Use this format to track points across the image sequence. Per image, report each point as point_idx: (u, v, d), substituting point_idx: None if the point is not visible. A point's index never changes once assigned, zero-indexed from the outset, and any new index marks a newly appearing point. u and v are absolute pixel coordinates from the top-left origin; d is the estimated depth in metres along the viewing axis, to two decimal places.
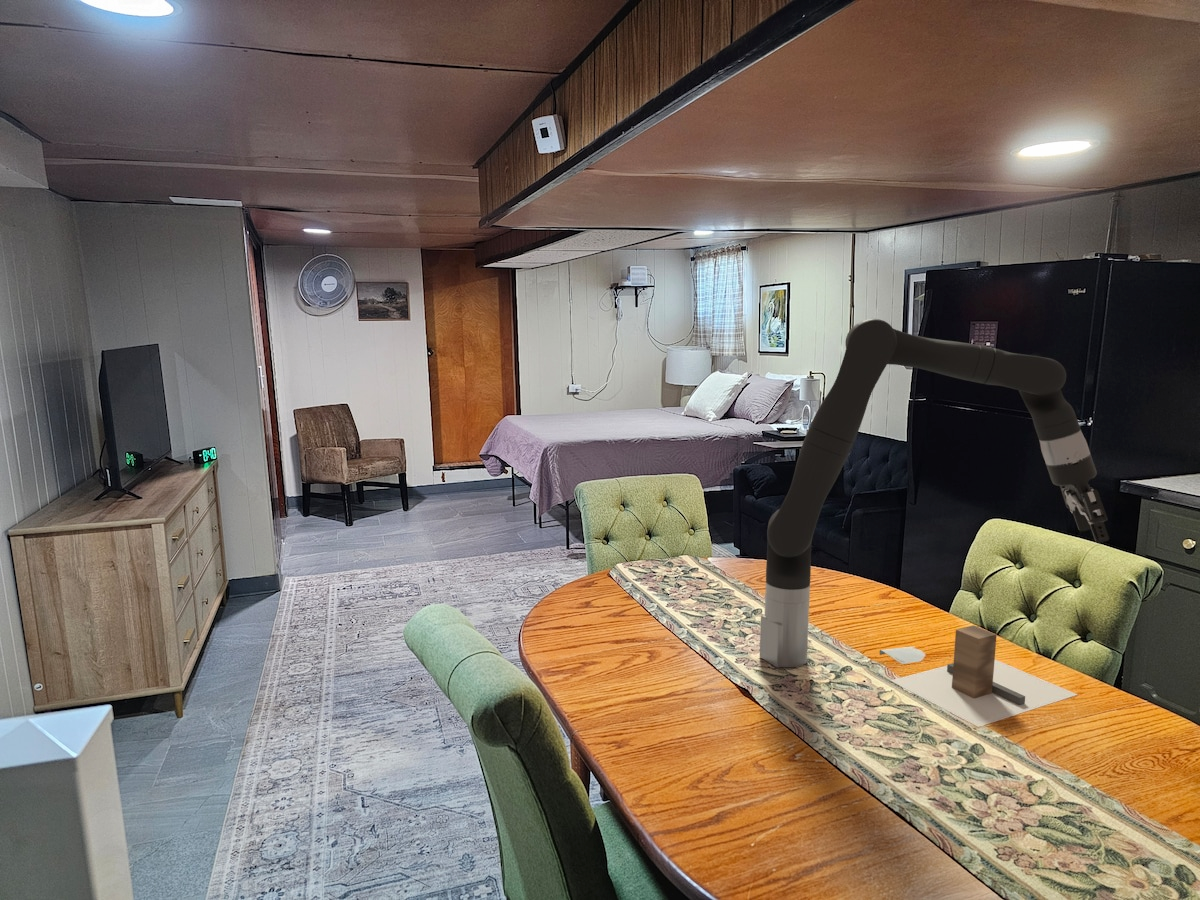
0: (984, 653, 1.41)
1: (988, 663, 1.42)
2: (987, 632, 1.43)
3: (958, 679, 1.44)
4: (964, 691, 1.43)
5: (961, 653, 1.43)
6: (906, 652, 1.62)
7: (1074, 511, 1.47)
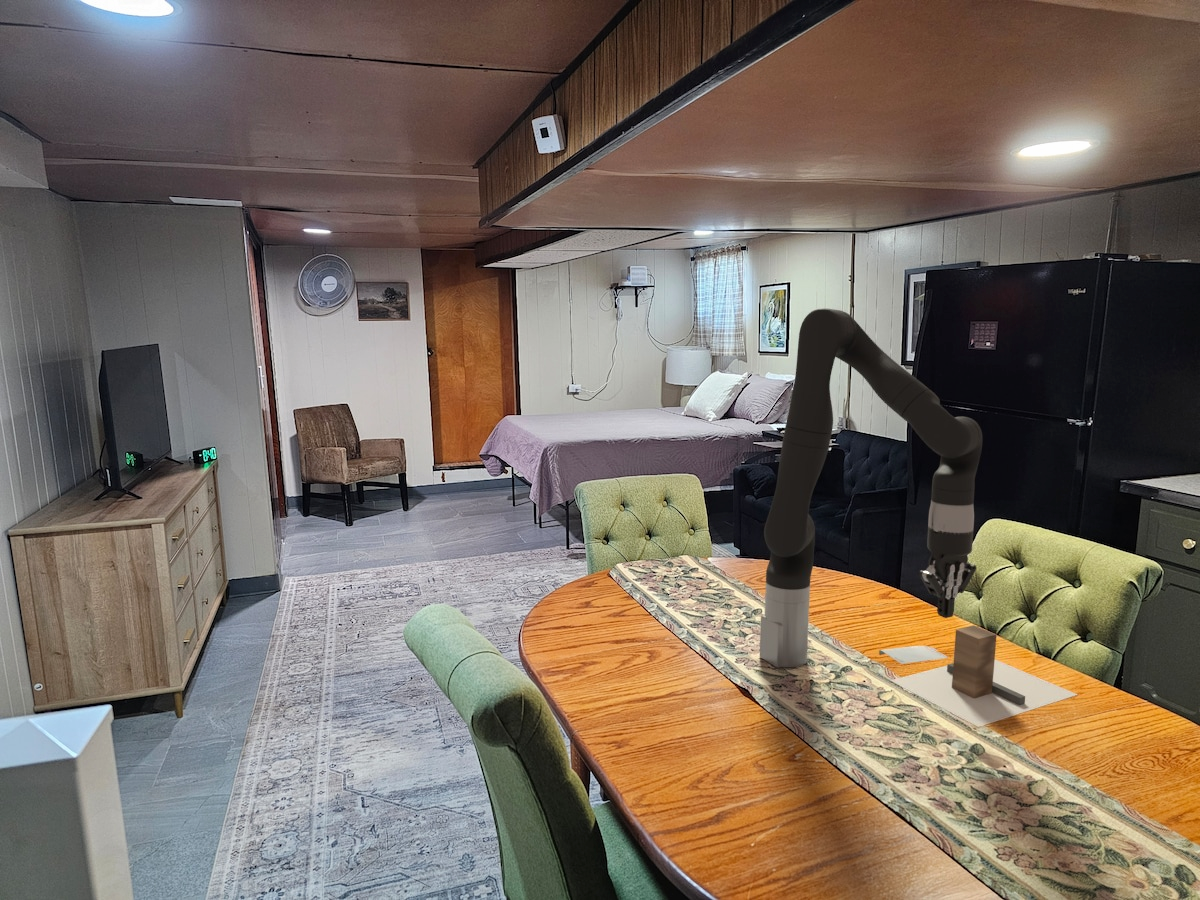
0: (984, 653, 1.41)
1: (988, 663, 1.42)
2: (987, 632, 1.43)
3: (958, 679, 1.44)
4: (964, 691, 1.43)
5: (961, 653, 1.43)
6: (905, 652, 1.62)
7: None
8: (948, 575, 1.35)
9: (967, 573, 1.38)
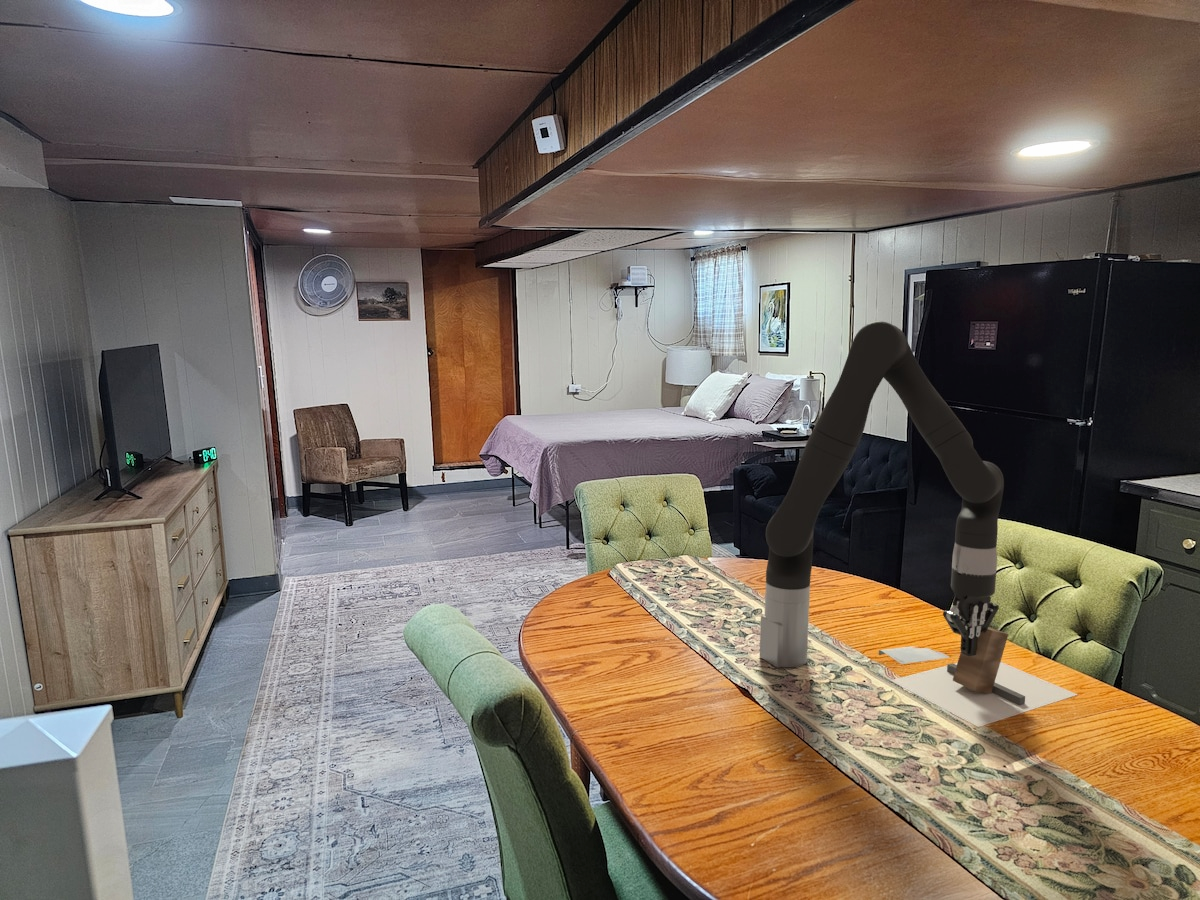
0: (993, 648, 1.42)
1: (995, 660, 1.42)
2: (999, 631, 1.44)
3: (961, 672, 1.44)
4: (965, 684, 1.43)
5: None
6: (905, 652, 1.62)
7: None
8: (971, 615, 1.39)
9: (990, 612, 1.42)
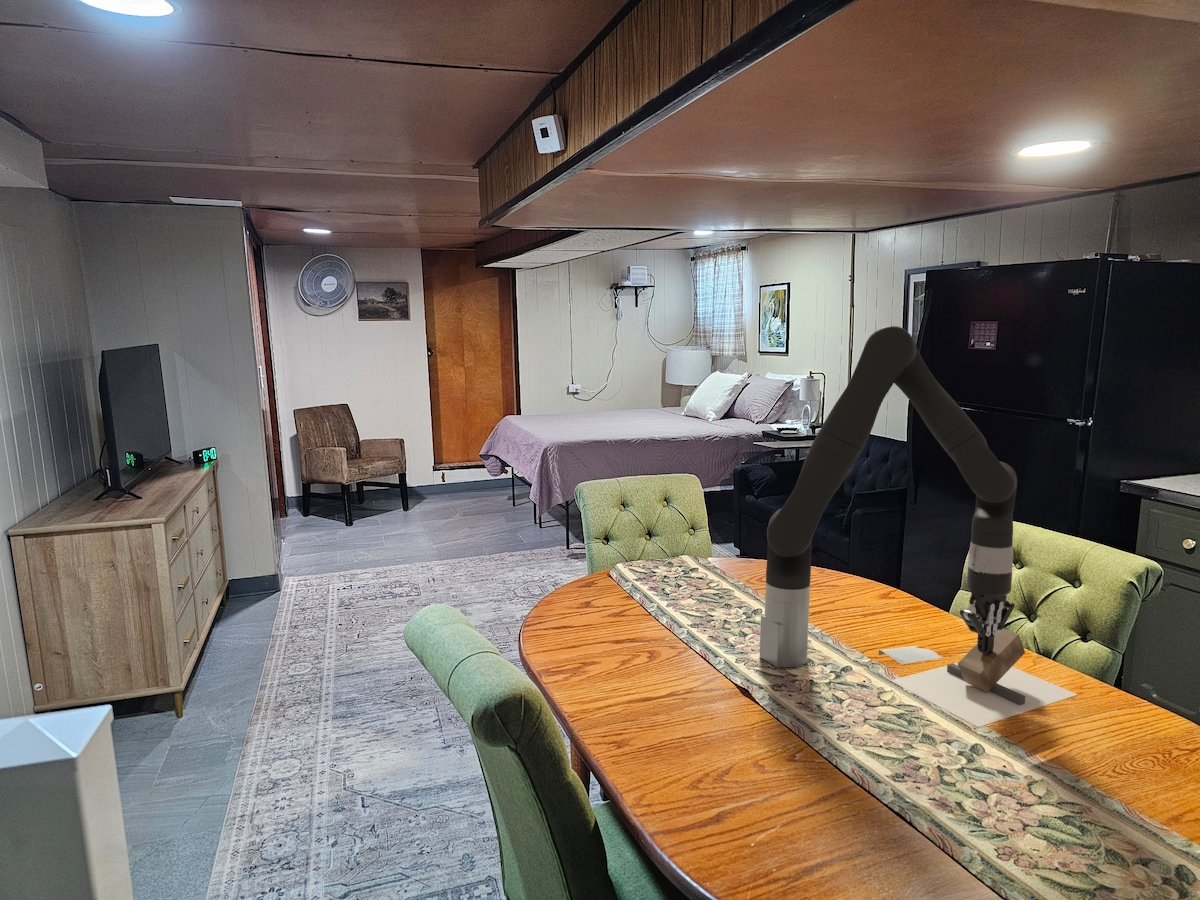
0: (1010, 651, 1.44)
1: (1005, 664, 1.44)
2: None
3: (970, 658, 1.45)
4: (971, 667, 1.43)
5: None
6: (905, 652, 1.62)
7: None
8: (988, 614, 1.41)
9: (1006, 610, 1.44)
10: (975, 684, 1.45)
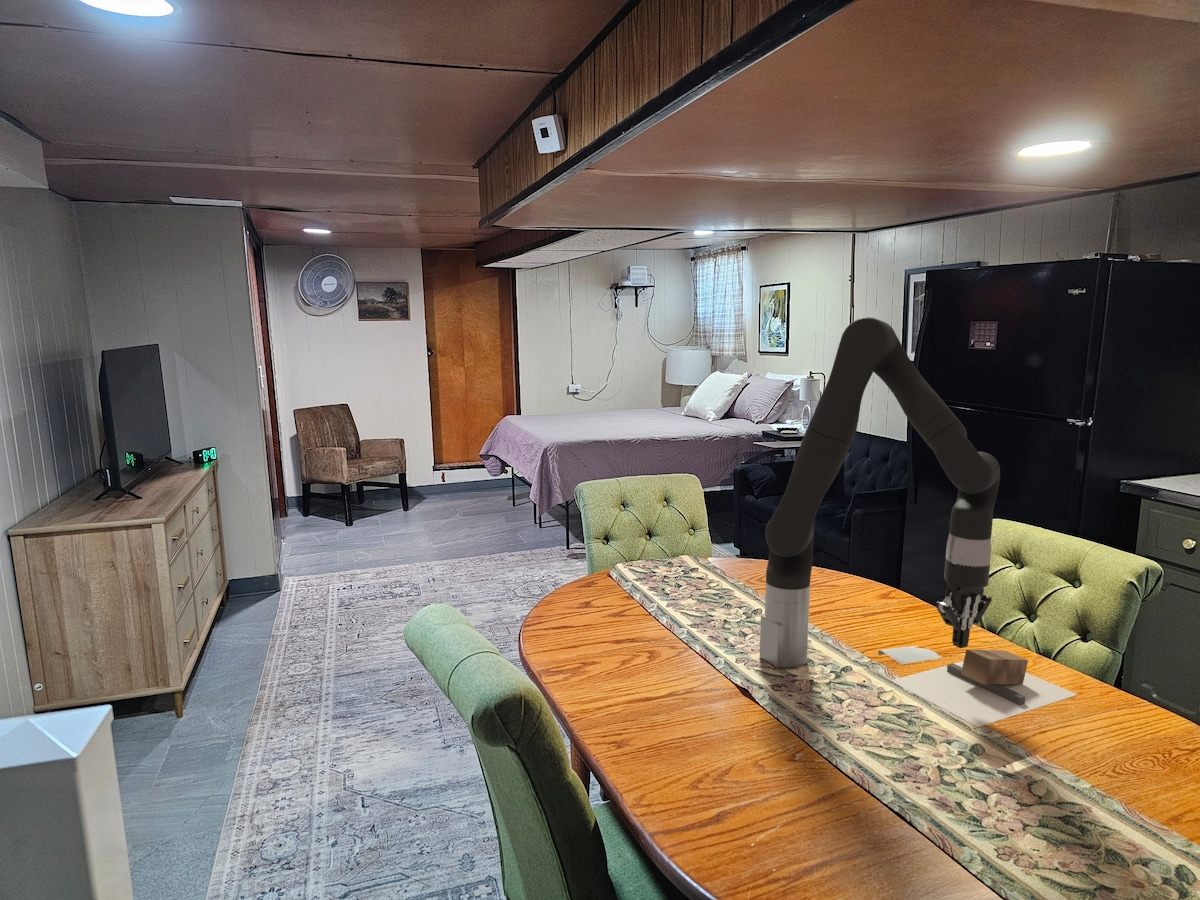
0: (1015, 668, 1.45)
1: (1006, 676, 1.45)
2: None
3: (980, 652, 1.46)
4: (980, 655, 1.44)
5: (998, 653, 1.48)
6: (905, 652, 1.62)
7: None
8: (964, 607, 1.38)
9: (982, 604, 1.41)
10: (973, 675, 1.44)
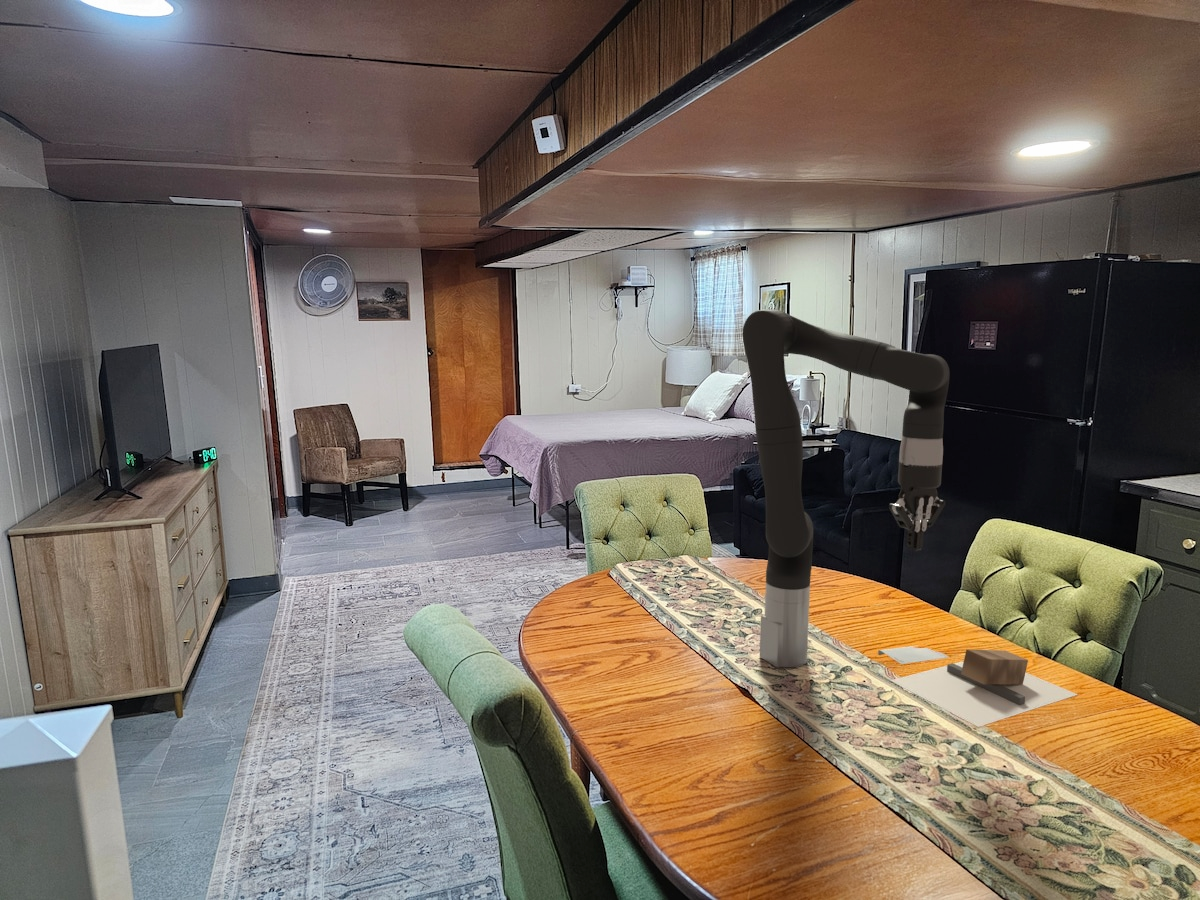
0: (1015, 668, 1.45)
1: (1006, 676, 1.45)
2: None
3: (980, 652, 1.46)
4: (980, 655, 1.44)
5: (998, 653, 1.48)
6: (905, 652, 1.62)
7: None
8: (917, 508, 1.39)
9: (936, 508, 1.42)
10: (973, 675, 1.44)
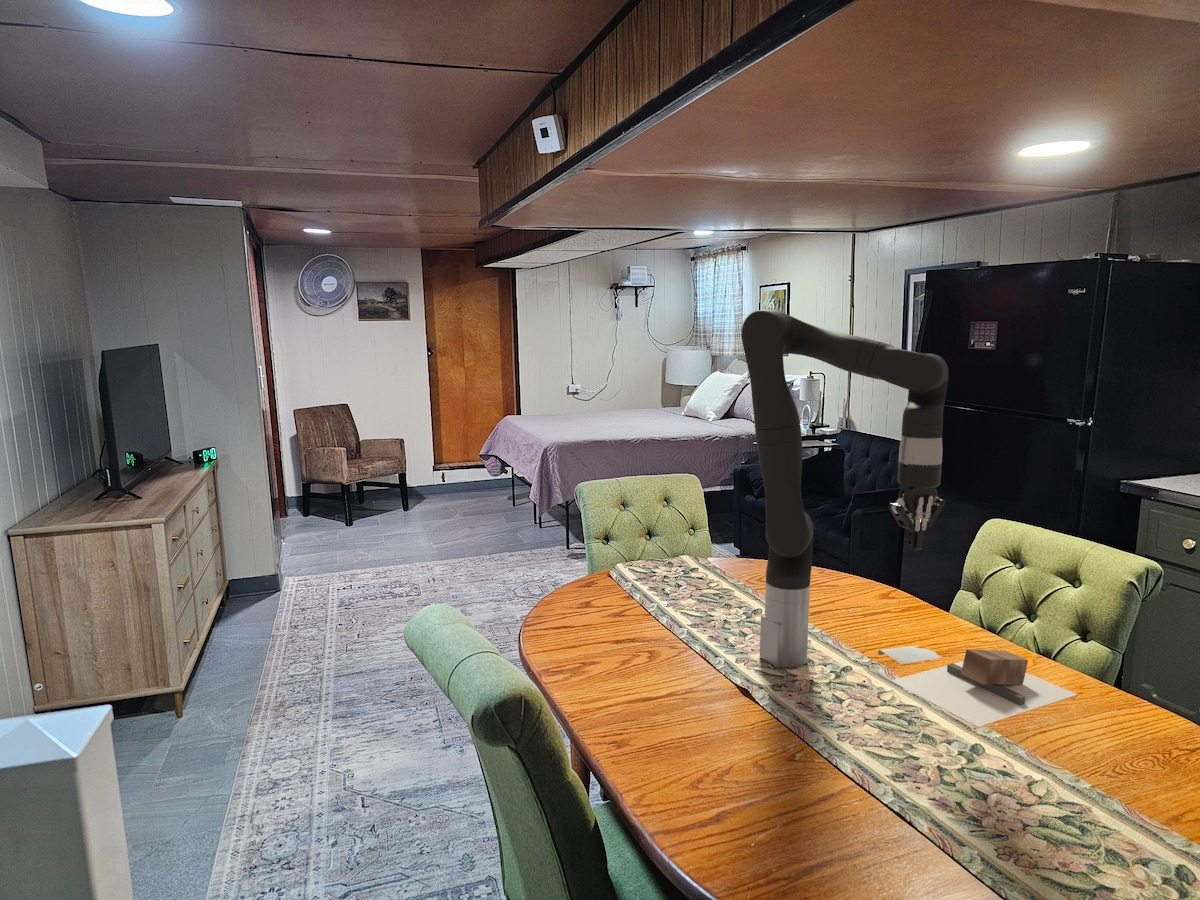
0: (1015, 668, 1.45)
1: (1006, 676, 1.45)
2: None
3: (980, 652, 1.46)
4: (980, 655, 1.44)
5: (998, 653, 1.48)
6: (904, 652, 1.62)
7: None
8: (917, 507, 1.39)
9: (936, 507, 1.42)
10: (973, 675, 1.44)
